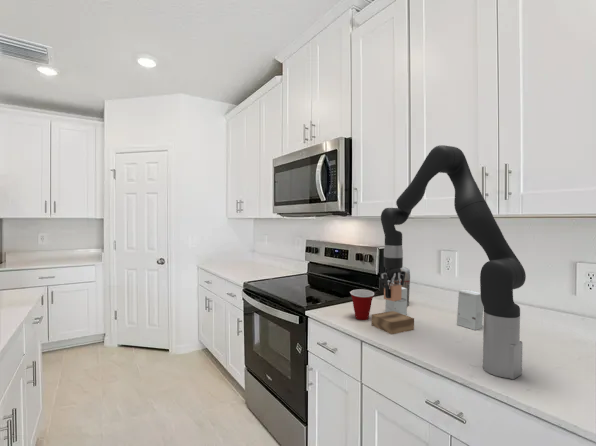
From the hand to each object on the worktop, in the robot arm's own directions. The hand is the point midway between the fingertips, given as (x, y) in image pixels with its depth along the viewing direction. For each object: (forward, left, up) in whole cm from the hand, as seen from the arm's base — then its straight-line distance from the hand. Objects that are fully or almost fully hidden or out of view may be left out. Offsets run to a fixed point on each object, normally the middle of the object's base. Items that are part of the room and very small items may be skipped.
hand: (392, 296), depth 138 cm
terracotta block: (0, 0, -1) cm, 1 cm away
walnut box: (0, 0, -13) cm, 13 cm away
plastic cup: (+16, +1, -13) cm, 21 cm away
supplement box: (+12, -18, -13) cm, 25 cm away
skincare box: (-18, -28, -13) cm, 36 cm away
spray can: (+21, -34, -13) cm, 42 cm away
